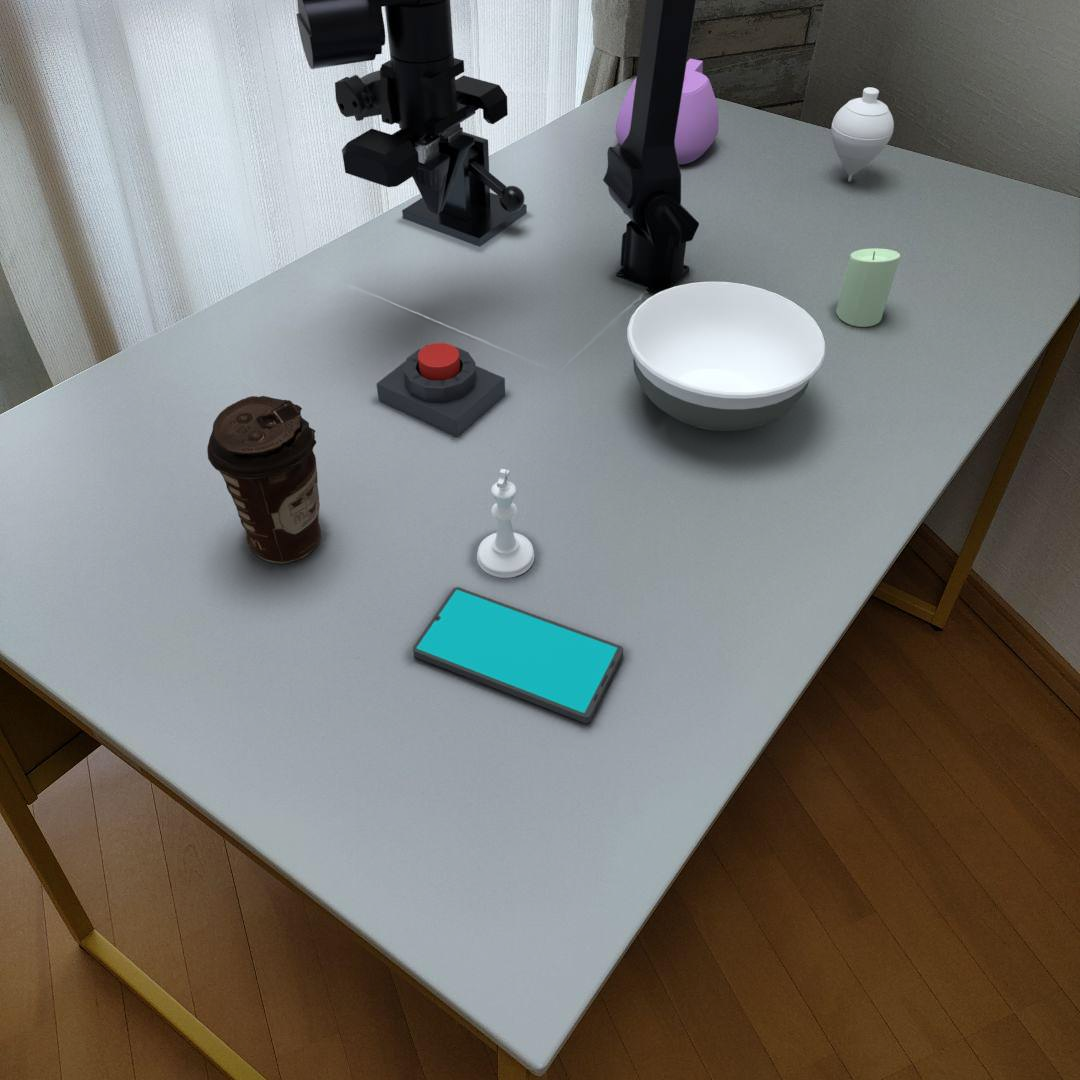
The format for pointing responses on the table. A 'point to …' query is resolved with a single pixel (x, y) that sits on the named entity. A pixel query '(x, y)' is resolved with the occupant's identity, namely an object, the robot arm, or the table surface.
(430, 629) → the smartphone
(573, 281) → the table surface
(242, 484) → the coffee cup
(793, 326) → the bowl
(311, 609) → the table surface
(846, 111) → the spinning top
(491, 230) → the lever bracket
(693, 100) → the teapot
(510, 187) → the black lever
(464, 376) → the control block
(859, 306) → the candle
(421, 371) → the red button
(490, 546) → the chess piece
